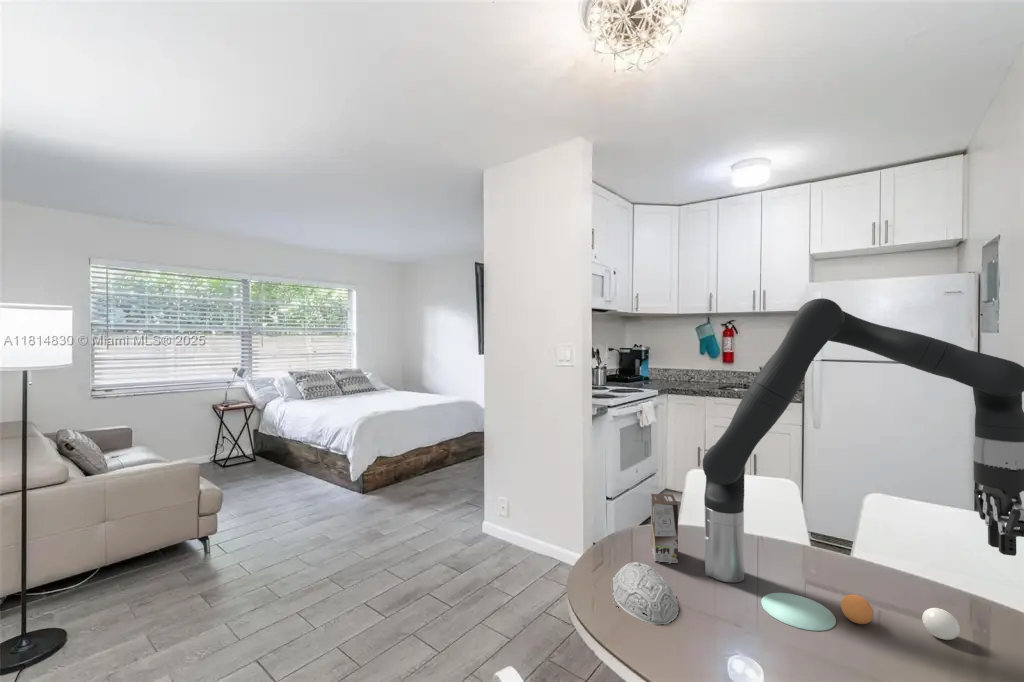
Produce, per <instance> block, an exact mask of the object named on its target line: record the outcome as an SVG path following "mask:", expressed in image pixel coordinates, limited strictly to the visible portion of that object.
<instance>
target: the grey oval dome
mask: <svg viewBox="0 0 1024 682" xmlns="http://www.w3.org/2000/svg"><path fill="white" fill-rule="evenodd" d="M614 576H615V577H613V578H612V580H613V590H614V592H613V593H612V596H613V595H614V598H615V601H616V602H617V604H618V605H619V606H620V607H621V608H622V609H623V610H624V611H625V612H626V613H628V614H629V615H631V616H632V617H634V618H636V619H638V620H641V621H643V622H647V623H652V624H664V623H665V624H664V625H667V624H666V623H668V624H670V623H669V622H671V621H672V622H673V620H674V619H675V618H676V619H677V617H678V616H679V612H678V611H680V610H679V609H680V608H679V607H680V606H679V604H678V599H677V600H676V598H675V596H674V594H673V593H676V592H674V591H673V589H672V588H671V586H670V585H669V584H668V582H667V581H666V580H665V579H664V577H662V575H660V573H659V572H657V570H656V569H654V568H653V567H652V566H650V565H647V564H644V563H641V562H638V561H635V562H633V561H632V562H628V563H627V564H625V565H623V566H621V568H620V569H619V570H618V572H617V573H616V574H615V575H614ZM643 613H644V614H643ZM677 615H678V616H677ZM676 619H675V620H676ZM675 620H674V621H675ZM672 622H671V623H672Z"/></svg>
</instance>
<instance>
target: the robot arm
mask: <svg viewBox="0 0 1024 682" xmlns="http://www.w3.org/2000/svg"><path fill="white" fill-rule="evenodd" d="M828 342H833V343H839V344H843V345H848V346H852V347H855V348H858V349H861V350H865V351H867V352H870V353H873V354H876V355H879V356H881V357H884V358H887V359H889V360H892V361H893V362H897V363H899V364H902V365H905V366H908V367H911V368H913V369H916V370H919V371H923V372H925V373H928V374H931V375H935V376H939V377H941V378H947V379H950V380H952V381H955V382H957V383H959V384H962V385H965V386H967V387H970V388H972V393H973V399H974V407H975V414H974V417H975V418H974V443H973V451H972V453H973V456H972V457H973V458H972V459H973V461H972V462H973V481H974V482H975V483H977V484H978V485H980V486H982V489H977V488H975V489H974V490H973V492H974V494H973V495H974V499H975V501H976V506H977V511H978V514H979V517H980V519H981V520H982V521H984V524H985V525H986V526H987V544H988V545H989V546H990V547H992V548H998V552H999V553H1000V554H1002V555H1004V556H1011V557H1013V556H1016V555H1017V537H1021V538H1024V508H1023V506H1022V505H1023V501H1022V498H1021V493H1022V492H1024V409H1023V393H1024V366H1023V365H1021V364H1020V363H1018V362H1015V361H1013V360H1010V359H1005V358H1001V357H998V356H993V355H990V354H986V353H982V352H979V351H975V350H970V349H967V348H964V347H962V346H960V345H957V344H954V343H952V342H948V341H944V340H941V339H938V338H935V337H931V336H928V335H926V334H925V335H924V334H920V333H917V332H913V331H907V330H903V329H898V328H895V327H889V326H885V325H882V324H877V323H874V322H871V321H867V320H864V319H862V318H859V317H857V316H856V315H853V314H851V313H848V312H846V311H844V310H843V309H842V307H841V306H840V305H839V304H838V303H836V302H835V301H833V300H831V299H829V298H821V297H820V298H815V299H811V300H809V301H807V302H805V303H804V304H802V305H801V307H800V308H799V309H798V311H797V312H796V314H795V317H794V318H793V321H792V323H791V325H790V327H789V329H788V331H787V333H786V335H785V337H784V339H783V340H782V342H781V344H780V345H779V347H778V348H777V350H776V351H775V352H774V353H773V354H772V355H771V357H770V358H769V359H768V360H767V362H766V363H765V364H764V366H763V367H762V368H761V370H760V371H759V372H758V374H757V375H756V377H755V378H754V380H753V381H752V382H751V384H750V385H749V387H748V388H747V390H746V392H745V393H744V395H743V396H742V399H741V400H740V403H739V404H738V406H737V408H736V410H735V413H734V415H733V417H732V419H731V421H730V423H729V425H728V427H727V428H726V430H725V431H724V433H723V434H722V435H721V436H720V438H718V440H717V441H716V443H714V444H713V445H711V447H709V448H708V450H707V451H706V453H705V454H704V456H703V459H702V469H703V473H704V475H705V490H704V574H705V576H706V577H710V576H711V577H710V578H712V577H713V578H712V579H714V578H715V580H718V581H721V582H725V583H730V584H731V583H740V582H742V581H744V579H745V572H746V570H745V525H744V524H745V513H744V512H745V508H744V506H745V465H746V464H747V463H748V460H749V458H750V456H751V455H752V453H753V452H754V450H755V448H756V446H757V445H758V444H759V443H760V442H761V440H762V439H763V438H764V436H766V435H767V433H768V432H769V431H770V430H771V429H772V428H773V426H774V425H775V424H776V423H777V421H778V420H779V419H780V418H781V416H782V415H783V414H784V412H785V411H786V410H787V408H788V406H789V405H790V404H791V403H792V401H793V399H794V398H795V396H796V394H797V393H798V391H799V389H800V387H801V385H802V383H803V381H804V380H805V376H806V375H807V373H808V372H807V371H808V370H809V368H810V365H811V364H812V362H813V360H814V358H815V357H816V356H817V355H818V354H819V352H820V351H821V350H822V349H823V347H824V346H825V345H827V343H828Z"/></svg>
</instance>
